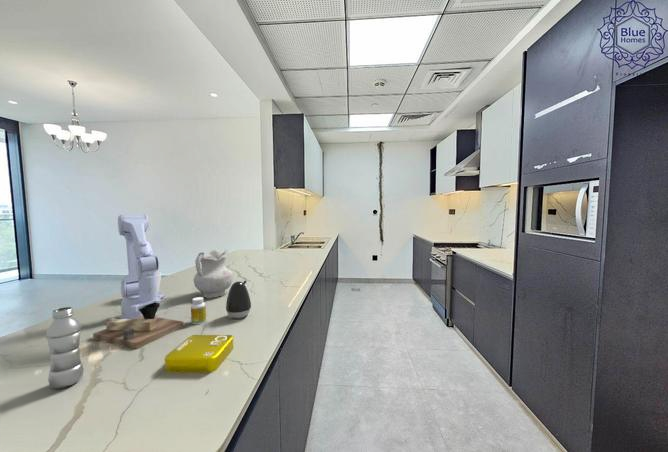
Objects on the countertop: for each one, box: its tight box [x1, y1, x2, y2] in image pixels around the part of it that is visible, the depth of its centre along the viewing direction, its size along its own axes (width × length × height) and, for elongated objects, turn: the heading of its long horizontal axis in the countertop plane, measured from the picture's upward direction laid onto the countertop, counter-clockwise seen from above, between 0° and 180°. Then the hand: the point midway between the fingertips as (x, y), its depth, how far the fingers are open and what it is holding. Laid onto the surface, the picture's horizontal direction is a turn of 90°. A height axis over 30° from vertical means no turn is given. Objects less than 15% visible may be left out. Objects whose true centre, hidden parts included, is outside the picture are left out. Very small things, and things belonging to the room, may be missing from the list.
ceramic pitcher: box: [193, 249, 234, 299], centre depth 144 cm, size 22×20×25 cm
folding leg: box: [105, 316, 156, 331], centre depth 98 cm, size 17×3×4 cm, turn 88°
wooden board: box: [92, 315, 185, 350], centre depth 100 cm, size 22×18×5 cm
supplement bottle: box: [190, 296, 207, 325], centre depth 109 cm, size 5×5×10 cm
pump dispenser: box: [225, 280, 252, 320], centre depth 114 cm, size 10×10×15 cm
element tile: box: [164, 334, 234, 374], centre depth 82 cm, size 15×15×5 cm
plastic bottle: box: [45, 306, 85, 389], centre depth 69 cm, size 6×7×20 cm
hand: (149, 323), depth 101 cm, fingers closed
